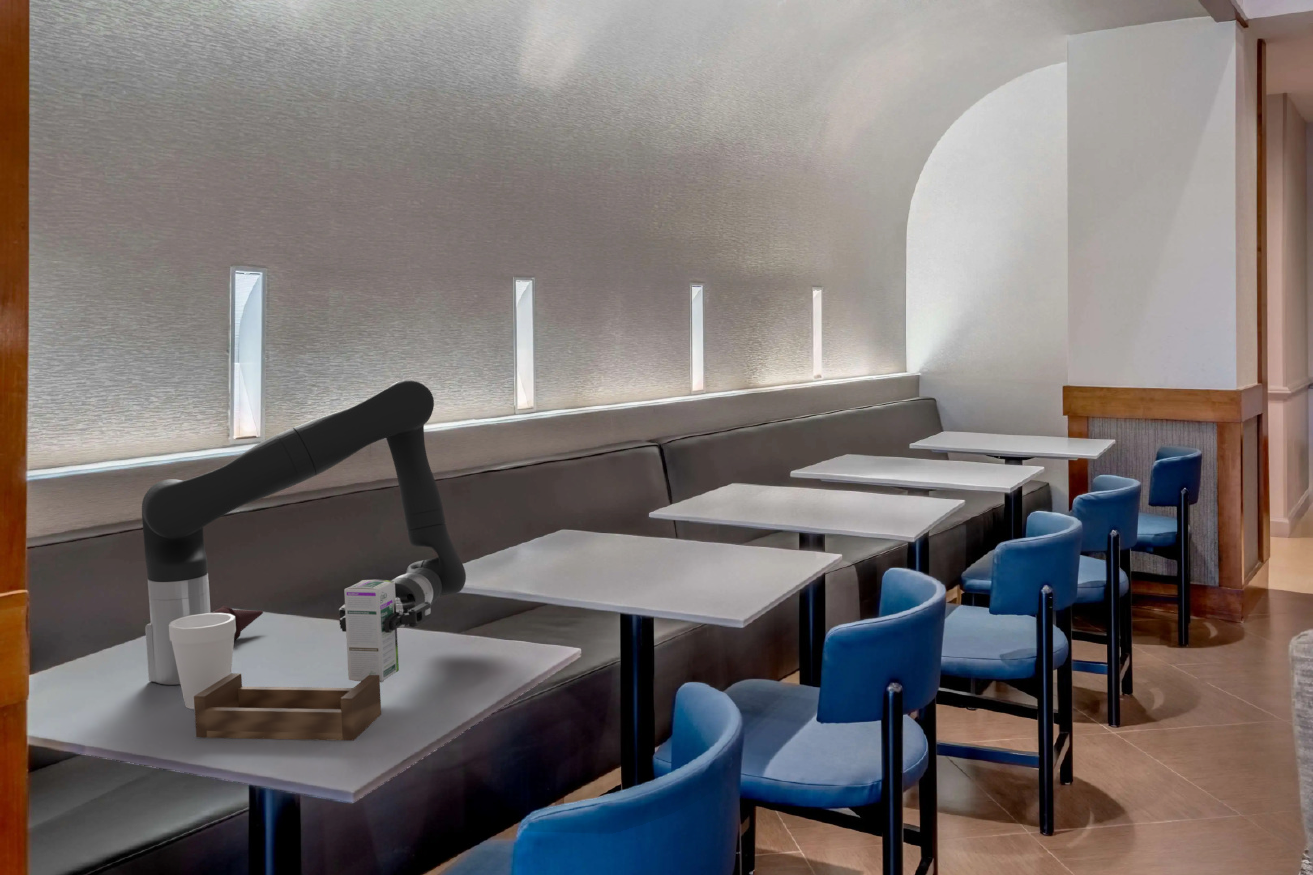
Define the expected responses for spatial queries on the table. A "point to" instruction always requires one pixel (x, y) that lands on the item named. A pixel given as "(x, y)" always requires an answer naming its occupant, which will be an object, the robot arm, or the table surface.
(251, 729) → the wooden crate tray
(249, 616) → the icecream
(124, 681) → the table surface
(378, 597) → the syrup box
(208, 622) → the foam cup
